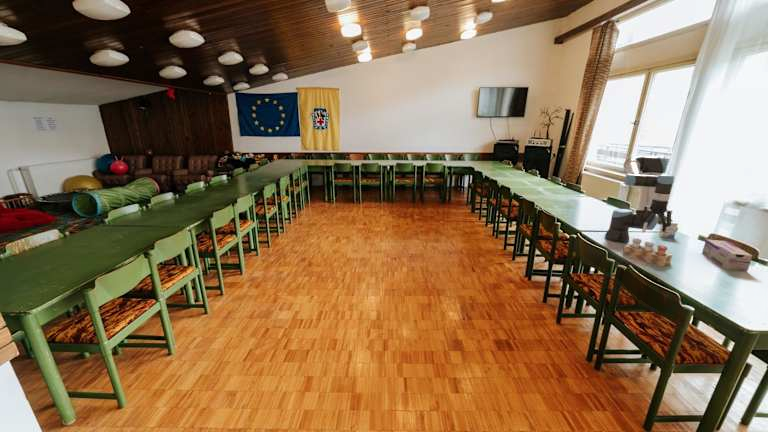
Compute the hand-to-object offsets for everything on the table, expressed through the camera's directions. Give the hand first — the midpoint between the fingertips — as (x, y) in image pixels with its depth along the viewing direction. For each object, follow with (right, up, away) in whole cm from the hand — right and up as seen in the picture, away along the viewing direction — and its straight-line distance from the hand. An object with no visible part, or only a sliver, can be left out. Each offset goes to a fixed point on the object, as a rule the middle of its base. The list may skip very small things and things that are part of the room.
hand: (651, 233), depth 201 cm
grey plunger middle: (0, -13, +4) cm, 14 cm away
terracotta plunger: (+3, -15, -2) cm, 15 cm away
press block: (0, -17, +5) cm, 17 cm away
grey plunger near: (-3, -11, +10) cm, 15 cm away
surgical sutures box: (+44, -18, -1) cm, 48 cm away
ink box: (+49, -5, +44) cm, 66 cm away
